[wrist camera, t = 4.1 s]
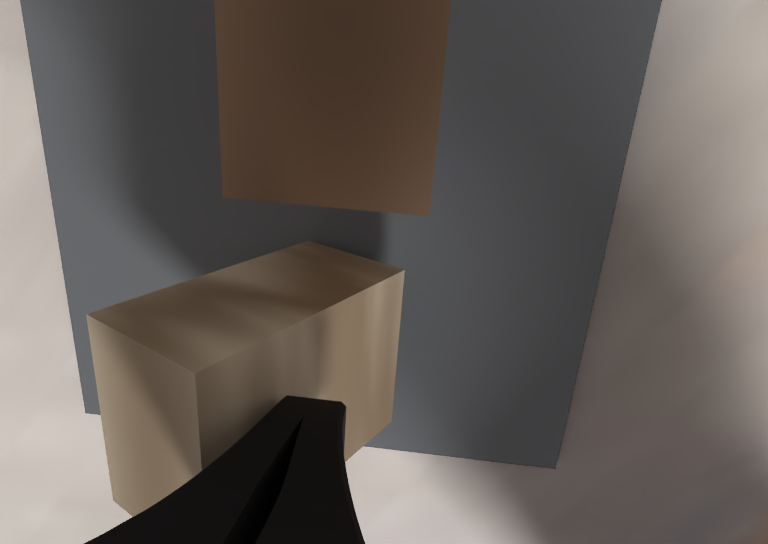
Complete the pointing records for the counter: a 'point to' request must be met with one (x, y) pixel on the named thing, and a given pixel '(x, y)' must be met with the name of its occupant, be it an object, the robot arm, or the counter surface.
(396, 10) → the walnut block
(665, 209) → the counter surface
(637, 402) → the counter surface
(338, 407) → the robot arm
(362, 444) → the beech block
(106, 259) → the mat
